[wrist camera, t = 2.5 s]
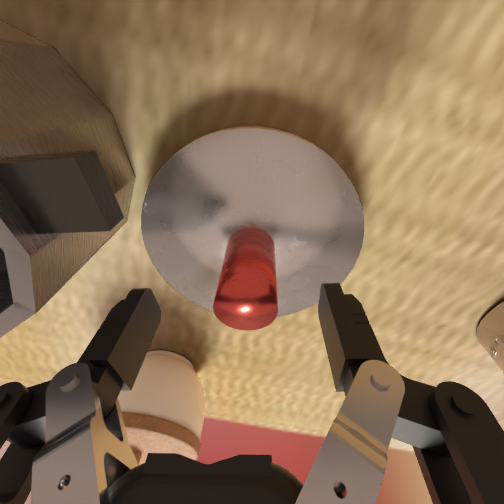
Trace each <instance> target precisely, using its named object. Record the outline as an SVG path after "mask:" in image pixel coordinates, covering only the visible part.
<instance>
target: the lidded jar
mask: <svg viewBox="0 0 504 504" xmlns="http://www.w3.org/2000/svg"><path fill="white" fill-rule="evenodd" d="M117 399H118V400H119V404H120V408H121V412H122V417H123V421H124V425H125V430H126V434H127V438H128V442H129V445H130V448H131V450H132V451H133V453H134V455H135V458H136V460H137V463H138V465H140V464H143V463H145V462H146V458H147V455H148V453H178V454H180V455H183V456H185V457H188V458H190V459H193V460H196V459H197V458H198V455H199V451H200V438H201V432H202V427H203V420H204V392H203V387H202V384H201V381H200V379H199V377H198V375H197V373H196V372H195V371H194V367H193V364H192V363H191V362H190V361H189V360H188V359H187V358H185V357H183V356H182V355H179V354H177V353H174V352H170V351H164V350H154V351H149V352H147V354H146V356H145V359H144V361H143V363H142V366H141V368H140V371H139V373H138V376H137V378H136V380H135V383H134V385H133V388H132V390H131V391H120V393H119V395H118V398H117Z"/></svg>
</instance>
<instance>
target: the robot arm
mask: <svg viewBox="0 0 504 504" xmlns="http://www.w3.org/2000/svg"><path fill="white" fill-rule="evenodd" d="M318 313H319V320H320V324H321V328H322V333H323V337H324V341H325V345H326V350H327V354H328V358H329V362H330V367H331V371H332V375H333V379H334V384H335V388H336V392H340V391H344V392H345V396H346V398H345V400H344V402H343V404H342V406H341V409H340V411H339V413H338V415H337V417H336V419H335V420H334V422H333V424H332V426H331V428H330V430H329V432H328V434H327V436H326V438H325V440H324V443H323V445H322V447H321V449H320V451H319V454H318V455H317V458H316V460H315V462H314V464H313V466H312V468H311V470H310V473H309V475H308V477H307V479H306V481H305V483H304V485H303V484H302V483H301V482H300V481H299V480H298V479H297V478H296V477H295V476H294V475H293V474H292V473H290V472H289V471H288V470H286V469H284V468H283V467H281V466H279V465H277V464H274V463H272V457H271V455H237V456H234V457H231V458H228V459H225V460H222V461H219V462H216V463H212V464H207V465H206V464H203V463H200V462H198V461H195V460H193V459H190V458H188V457H185V456H183V455H180V454H178V453H148V455H147V458H146V462H145V463H143V464H140V465H138V463H137V460H136V458H135V455H134V453H133V451H132V450H131V448H130V445H129V442H128V438H127V434H126V430H125V425H124V421H123V417H122V412H121V408H120V404H119V400H118V399H117V398H118V395H119V393H120V391H131V390H132V388H133V385H134V383H135V380H136V378H137V376H138V373H139V371H140V368H141V366H142V363H143V361H144V359H145V356H146V354H147V351H148V349H149V347H150V344H151V342H152V339H153V337H154V335H155V332H156V330H157V327H158V325H159V322H160V319H161V311H160V308H159V306H158V303H157V301H156V299H155V297H154V295H153V292H152V290H151V289H149V288H143V289H132V290H131V291H130V292H129V294H128V296H127V297H126V299H125V300H121V301H120V302H119V303H118V304H117V305H116V306H114V307H113V308H112V309H111V311H110V312H109V314H108V316H107V317H106V320H105V321H104V322H103V323H102V325H101V326H100V329H99V330H98V331H97V333H96V334H95V336H94V337H93V339H92V340H91V342H90V344H89V345H88V347H87V348H86V350H85V351H84V353H83V354H82V356H81V358H80V359H79V360H78V362H77V363H74V364H71V365H69V366H67V367H65V368H64V369H62V370H61V371H60V372H58V373H57V374H56V375H55V376H54V377H53V379H52V380H51V381H47V382H44V383H41V384H38V385H35V386H32V387H28V388H26V387H25V386H24V385H22V384H21V383H19V382H10V383H6V384H4V385H2V386H0V449H1V447H2V445H3V444H4V443H5V441H6V440H7V441H9V442H11V444H10V446H9V447H8V449H7V450H6V452H5V453H4V455H3V457H2V458H1V460H0V504H24V503H25V501H26V499H27V497H28V495H29V493H30V491H31V504H376V501H377V498H378V494H379V491H380V487H381V484H382V480H383V477H384V473H385V470H386V465H387V451H388V447H389V443H390V440H391V438H394V439H397V440H399V441H402V442H405V443H407V444H410V445H412V446H413V449H414V451H415V454H416V457H417V460H418V463H419V465H420V468H421V471H422V474H423V477H424V480H425V482H426V485H427V488H428V490H429V494H430V496H431V499H432V502H433V504H504V431H503V430H502V428H501V426H500V425H499V423H498V422H497V420H496V418H495V417H494V415H493V414H492V412H491V410H490V409H489V407H488V406H487V404H486V403H485V402H484V400H483V399H482V398H481V397H480V396H479V395H478V394H476V393H475V392H474V391H472V390H471V389H469V388H468V387H466V386H464V385H462V384H459V383H456V382H450V381H449V382H442V383H440V384H439V385H438V386H437V387H434V386H430V385H427V384H424V383H420V382H417V381H414V380H411V379H408V378H406V377H404V376H402V375H400V374H399V373H398V372H397V371H396V370H395V369H394V368H393V367H392V366H390V365H389V364H388V362H387V361H386V359H385V357H384V355H383V353H382V351H381V348H380V346H379V344H378V341H377V339H376V337H375V334H374V332H373V330H372V328H371V325H370V324H369V321H368V318H367V316H366V315H365V311H364V309H363V307H362V305H361V303H360V302H359V301H358V300H357V299H356V298H355V297H354V296H353V295H352V294H345V295H344V293H343V291H342V288H341V286H340V284H339V283H322V284H321V289H320V297H319V305H318ZM476 335H477V339H478V341H479V342H480V343H481V345H482V346H483V347H484V349H485V350H486V351H487V352H488V354H489V355H490V356H491V357H492V359H493V360H494V361H495V362H496V364H497V365H498V366H499V367H500V369H501V370H502V371H503V372H504V302H502V303H500V304H499V305H497V306H496V307H495V308H494V309H492V310H491V311H490V312H489V313H488V314H487V315H486V316H485V317H484V318H483V319H482V320H481V322H480V324H479V326H478V327H477V333H476Z"/></svg>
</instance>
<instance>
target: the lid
mask: <svg viewBox="0 0 504 504" xmlns="http://www.w3.org/2000/svg"><path fill="white" fill-rule="evenodd" d="M141 229H142V235H143V241H144V244H145V247H146V250H147V253H148V255H149V257H150V259H151V261H152V263H153V265H154V266H155V268H156V269H157V271H158V272H159V274H160V275H161V276H162V277H163V278H164V280H165V281H166V282H167V283H168V284H169V285H170V286H171V287H172V288H173V289H174V290H176V291H177V292H178V293H180V294H181V295H182V296H184V297H185V298H187V299H188V300H190V301H191V302H193V303H195V304H197V305H199V306H201V307H203V308H205V309H208V310H211V311H213V312H214V313H215V315H216V317H217V318H218V319H219V320H220V321H221V322H222V323H224V324H225V325H227V326H229V327H232V328H235V329H239V330H256V329H260V328H263V327H265V326H267V325H269V324H270V323H272V322H273V321H274V320H275V318H276V317H280V316H284V315H288V314H292V313H295V312H298V311H301V310H303V309H306V308H308V307H310V306H312V305H314V304H316V303H317V302H319V297H320V289H321V284H322V283H339V284H341V283H342V282H343V281H344V280H345V279H346V277H347V276H348V275H349V273H350V272H351V270H352V268H353V267H354V265H355V263H356V261H357V259H358V256H359V253H360V250H361V247H362V243H363V236H364V216H363V211H362V205H361V202H360V200H359V197H358V194H357V191H356V190H355V188H354V186H353V184H352V182H351V181H350V179H349V177H348V176H347V175H346V174H345V172H344V171H343V170H342V169H341V167H340V166H339V165H338V164H337V163H336V161H335V160H333V159H332V158H331V157H330V156H329V155H328V154H327V153H326V152H325V151H324V150H322V149H321V148H319V147H318V146H316V145H315V144H313V143H312V142H310V141H308V140H306V139H304V138H302V137H300V136H298V135H295V134H293V133H290V132H286V131H283V130H280V129H275V128H268V127H262V126H239V127H232V128H226V129H221V130H218V131H215V132H212V133H208V134H206V135H204V136H202V137H200V138H198V139H195V140H193V141H192V142H190V143H189V144H187V145H186V146H184V147H183V148H181V149H180V150H179V151H177V152H176V153H175V154H174V155H173V156H172V157H171V158H170V159H169V160H168V161H167V162H165V163H164V164H163V165H162V167H161V168H160V169H159V171H158V172H157V174H156V175H155V176H154V178H153V180H152V182H151V184H150V185H149V187H148V189H147V192H146V195H145V199H144V202H143V207H142V214H141Z"/></svg>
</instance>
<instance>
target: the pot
mask: <svg viewBox="0 0 504 504" xmlns="http://www.w3.org/2000/svg"><path fill="white" fill-rule="evenodd" d="M134 181H135V176H134V173H133V170H132V167H131V165H130V162H129V159H128V156H127V154H126V151H125V148H124V145H123V143H122V140H121V137H120V134H119V131H118V129H117V126H116V123H115V120H114V118H113V115H112V114H111V113H110V112H109V111H108V109H107V108H106V107H105V106H104V105H103V104H102V103H101V101H100V100H99V99H98V98H97V97H96V96H95V95H94V93H93V92H92V91H91V90H90V89H89V88H88V87H87V85H86V84H85V83H84V82H83V81H82V80H81V79H80V77H79V76H78V75H77V74H76V73H75V72H74V71H73V69H72V68H71V67H70V66H69V65H68V64H67V63H66V61H65V60H64V59H63V58H62V57H61V56H60V55H59V53H58V52H57V51H56V50H55V49H54V48H53V47H51V46H49V45H47V44H45V43H43V42H41V41H40V40H38V39H36V38H34V37H32V36H30V35H28V34H26V33H24V32H22V31H20V30H18V29H16V28H15V27H13V26H11V25H9V24H7V23H5V22H3V21H1V20H0V337H2V336H3V335H5V334H6V333H7V332H9V331H10V330H12V329H13V328H15V327H16V326H18V325H19V324H21V323H22V322H23V321H25V320H26V319H28V318H29V317H31V316H32V315H34V314H36V313H37V312H38V311H39V310H40V309H41V308H42V307H43V306H44V305H45V304H46V303H47V302H48V301H49V300H50V299H51V298H52V297H53V296H54V295H55V294H56V293H57V292H58V291H59V290H60V289H61V288H62V287H63V286H64V285H65V284H66V282H67V281H68V280H69V279H70V278H71V277H72V276H73V275H74V274H75V273H76V272H77V271H78V270H79V269H80V268H81V267H82V266H83V265H84V264H85V263H86V262H87V261H88V260H89V259H90V258H91V257H92V256H93V255H94V254H95V253H96V252H97V251H98V250H99V249H100V248H101V247H102V246H103V245H104V244H105V243H106V242H107V241H108V240H109V239H110V238H111V237H112V236H113V235H114V234H115V233H116V232H117V231H118V230H119V229H120V228H121V227H122V226H123V225H124V224H125V223H126V222H127V219H128V213H129V208H130V203H131V197H132V192H133V187H134Z"/></svg>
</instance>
